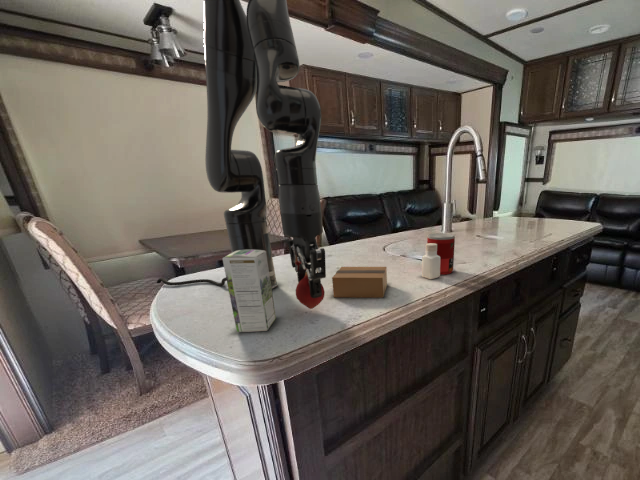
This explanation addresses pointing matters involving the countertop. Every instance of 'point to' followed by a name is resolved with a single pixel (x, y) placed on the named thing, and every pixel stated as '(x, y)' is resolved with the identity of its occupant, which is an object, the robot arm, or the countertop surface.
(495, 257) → the countertop surface
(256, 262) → the syrup box
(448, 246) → the canned food
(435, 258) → the pepper shaker
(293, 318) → the countertop surface
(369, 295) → the cardboard box
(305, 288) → the onion
